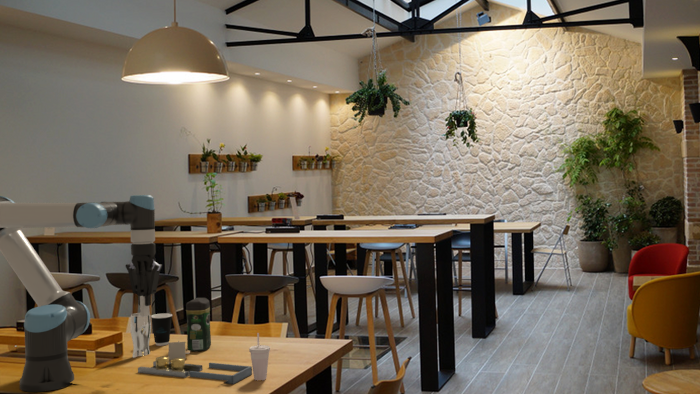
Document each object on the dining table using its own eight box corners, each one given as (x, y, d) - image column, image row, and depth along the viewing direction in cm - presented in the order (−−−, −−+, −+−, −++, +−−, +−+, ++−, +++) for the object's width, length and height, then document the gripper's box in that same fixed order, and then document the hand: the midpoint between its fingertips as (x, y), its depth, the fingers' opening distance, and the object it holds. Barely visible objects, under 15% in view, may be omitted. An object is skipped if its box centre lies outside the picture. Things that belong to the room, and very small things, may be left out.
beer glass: (154, 354, 238) (153, 312, 238) (147, 359, 231) (146, 316, 231) (136, 354, 238) (135, 312, 238) (127, 359, 232) (126, 316, 231)
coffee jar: (192, 345, 250) (191, 296, 249) (213, 345, 249) (212, 296, 249) (184, 352, 240) (183, 300, 240) (205, 352, 240) (204, 300, 239)
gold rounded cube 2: (179, 374, 208) (179, 361, 208) (169, 373, 209) (168, 360, 209) (187, 370, 211) (187, 358, 211) (176, 369, 213) (176, 357, 213)
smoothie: (260, 374, 209) (259, 330, 209) (275, 378, 205) (274, 332, 205) (245, 379, 204) (244, 334, 204) (259, 383, 200) (258, 336, 200)
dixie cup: (157, 347, 248) (156, 318, 247) (147, 344, 253) (146, 315, 253) (176, 344, 253) (176, 315, 253) (166, 340, 259) (166, 312, 259)
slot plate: (185, 380, 204) (185, 372, 204) (138, 375, 211) (137, 367, 210) (202, 373, 212) (202, 365, 212) (156, 368, 219) (156, 360, 219)
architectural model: (169, 362, 228) (169, 340, 228) (190, 361, 229) (189, 339, 229) (168, 364, 225) (167, 342, 225) (189, 363, 226) (188, 341, 226)
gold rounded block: (163, 372, 210) (163, 359, 210) (153, 371, 211) (153, 358, 211) (171, 369, 214) (171, 356, 213) (161, 368, 215) (161, 355, 215)
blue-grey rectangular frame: (233, 384, 199) (233, 375, 199) (189, 379, 205) (189, 371, 205) (251, 374, 209) (251, 366, 209) (210, 370, 215) (209, 362, 215)
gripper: (167, 242, 215) (169, 314, 216) (134, 241, 220) (136, 312, 221) (152, 244, 208) (154, 319, 209) (118, 243, 213) (120, 316, 214)
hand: (145, 315), depth 215 cm, fingers closed
